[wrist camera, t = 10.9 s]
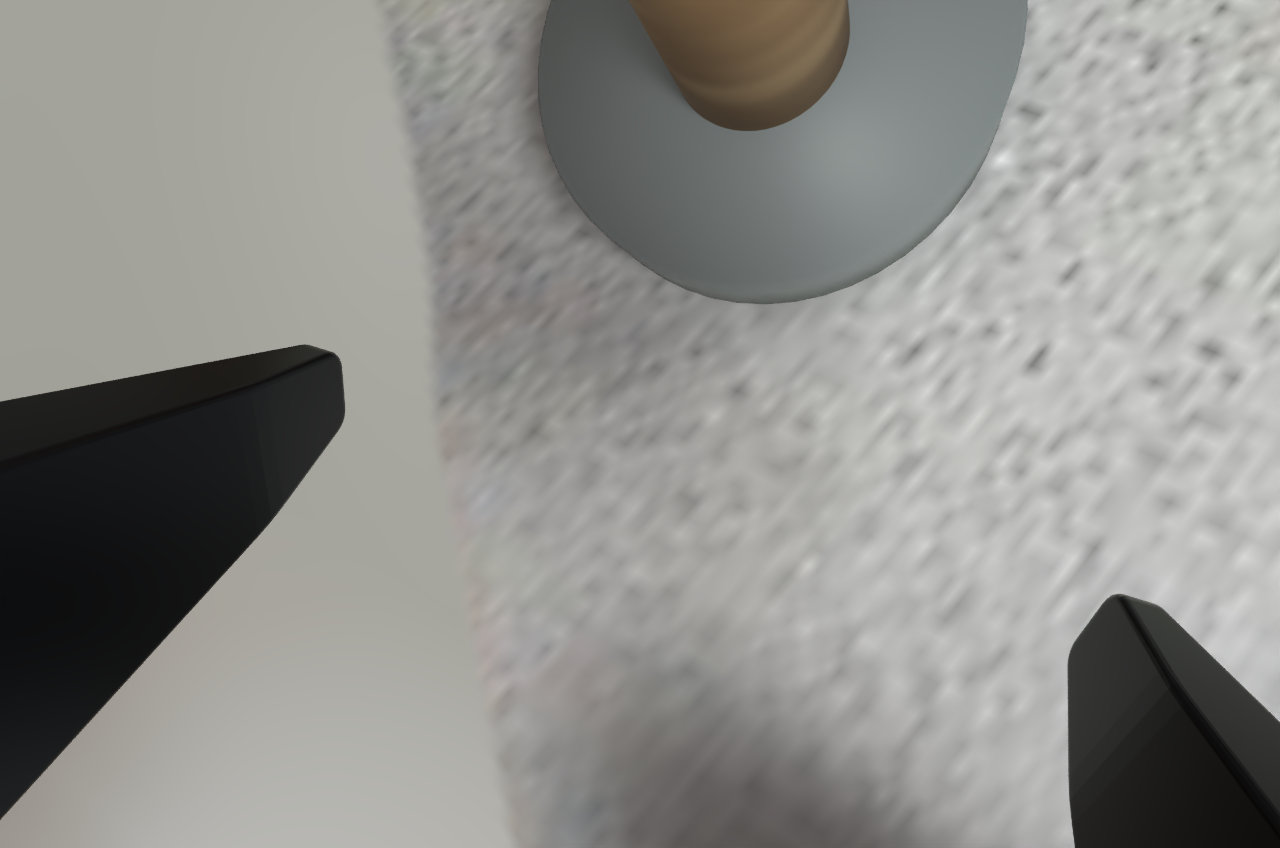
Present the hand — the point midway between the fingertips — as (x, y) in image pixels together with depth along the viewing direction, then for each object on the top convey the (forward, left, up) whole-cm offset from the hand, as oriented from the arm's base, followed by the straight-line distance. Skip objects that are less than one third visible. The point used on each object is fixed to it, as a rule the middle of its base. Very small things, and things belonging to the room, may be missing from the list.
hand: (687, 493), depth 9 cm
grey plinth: (+9, -3, -11) cm, 15 cm away
